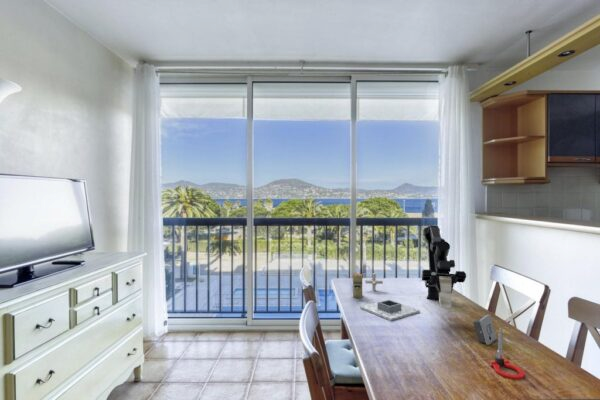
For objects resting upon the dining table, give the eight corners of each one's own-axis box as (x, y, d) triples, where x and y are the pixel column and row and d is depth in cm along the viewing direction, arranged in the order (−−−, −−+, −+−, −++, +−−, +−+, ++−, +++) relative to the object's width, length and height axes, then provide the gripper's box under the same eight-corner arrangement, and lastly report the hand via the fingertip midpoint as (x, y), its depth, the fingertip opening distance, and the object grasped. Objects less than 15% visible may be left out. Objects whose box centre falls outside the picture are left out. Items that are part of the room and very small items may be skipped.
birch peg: (439, 304, 156) (439, 276, 156) (449, 304, 156) (449, 276, 155) (440, 307, 152) (440, 278, 152) (451, 308, 151) (451, 279, 151)
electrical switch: (488, 346, 127) (486, 321, 128) (474, 343, 131) (471, 318, 132) (497, 338, 134) (494, 315, 134) (483, 336, 137) (481, 312, 138)
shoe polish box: (362, 297, 187) (362, 276, 186) (353, 297, 188) (353, 275, 187) (362, 295, 191) (362, 273, 191) (353, 294, 192) (353, 273, 192)
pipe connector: (381, 288, 205) (381, 271, 205) (383, 293, 195) (383, 275, 195) (364, 287, 206) (364, 271, 206) (366, 292, 196) (366, 275, 196)
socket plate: (388, 301, 180) (388, 294, 180) (419, 312, 163) (419, 305, 163) (360, 308, 169) (360, 301, 169) (390, 320, 153) (390, 313, 153)
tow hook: (531, 379, 105) (509, 363, 114) (533, 339, 104) (510, 326, 113) (506, 382, 104) (486, 365, 113) (508, 341, 103) (487, 327, 112)
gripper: (422, 252, 159) (425, 282, 149) (465, 253, 155) (471, 284, 145) (420, 265, 167) (423, 294, 157) (461, 267, 163) (466, 297, 152)
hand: (445, 292), depth 152 cm, fingers closed on birch peg, 4 cm apart
